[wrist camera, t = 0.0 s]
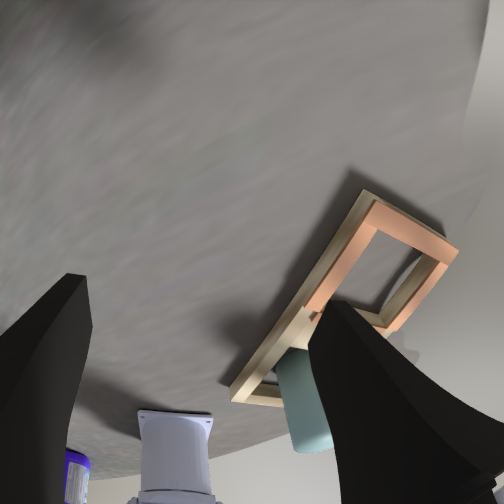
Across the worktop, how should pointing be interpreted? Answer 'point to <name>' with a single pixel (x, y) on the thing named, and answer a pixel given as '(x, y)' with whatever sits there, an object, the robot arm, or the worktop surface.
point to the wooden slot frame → (329, 278)
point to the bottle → (75, 478)
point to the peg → (302, 403)
